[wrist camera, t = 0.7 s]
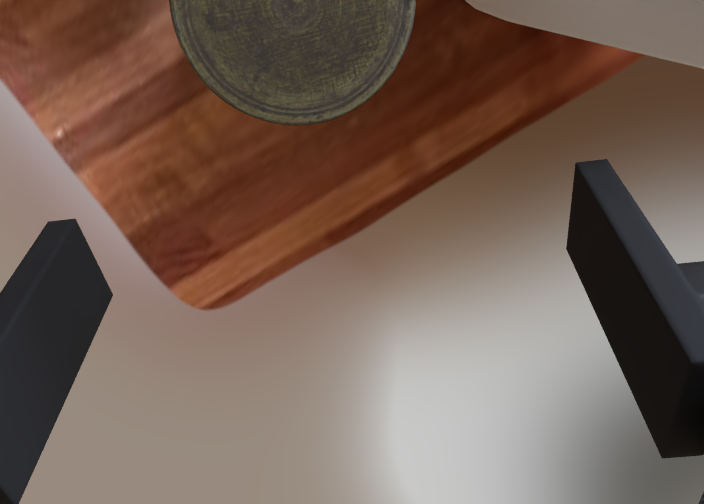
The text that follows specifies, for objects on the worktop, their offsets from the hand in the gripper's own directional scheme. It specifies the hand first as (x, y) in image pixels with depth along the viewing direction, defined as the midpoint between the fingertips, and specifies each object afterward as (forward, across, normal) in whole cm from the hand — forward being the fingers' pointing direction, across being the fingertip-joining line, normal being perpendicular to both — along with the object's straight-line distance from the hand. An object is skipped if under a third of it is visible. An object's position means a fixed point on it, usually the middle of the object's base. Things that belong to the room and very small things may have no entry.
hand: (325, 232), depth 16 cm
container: (+26, -3, 0) cm, 26 cm away
